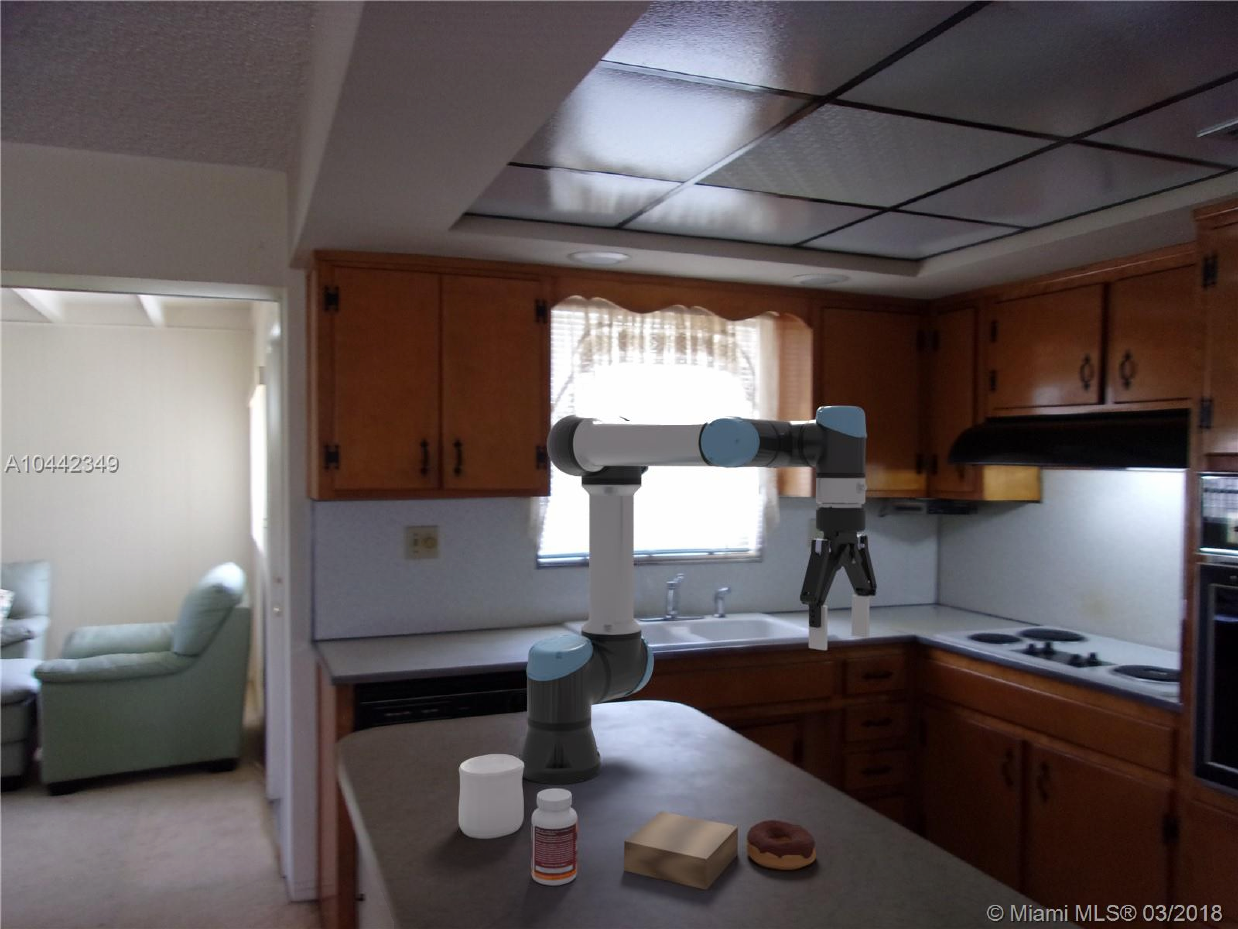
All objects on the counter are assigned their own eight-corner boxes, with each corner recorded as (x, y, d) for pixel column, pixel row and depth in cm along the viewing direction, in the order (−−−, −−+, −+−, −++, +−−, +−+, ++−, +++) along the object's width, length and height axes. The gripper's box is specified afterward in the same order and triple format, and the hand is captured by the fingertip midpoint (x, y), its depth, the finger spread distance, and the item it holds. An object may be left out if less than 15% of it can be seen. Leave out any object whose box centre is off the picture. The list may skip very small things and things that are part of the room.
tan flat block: (624, 870, 123) (624, 841, 123) (660, 838, 134) (660, 811, 134) (706, 890, 117) (706, 859, 117) (737, 854, 128) (737, 826, 128)
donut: (801, 881, 121) (801, 851, 121) (734, 863, 126) (734, 834, 126) (826, 853, 129) (826, 825, 129) (762, 838, 134) (762, 811, 134)
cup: (533, 819, 141) (533, 757, 141) (504, 844, 131) (505, 777, 131) (479, 811, 144) (479, 750, 144) (447, 835, 134) (447, 770, 134)
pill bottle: (586, 879, 120) (586, 797, 120) (545, 891, 117) (545, 806, 117) (562, 862, 125) (563, 783, 125) (522, 873, 122) (523, 791, 122)
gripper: (822, 509, 129) (821, 658, 129) (898, 504, 147) (897, 634, 147) (776, 507, 134) (776, 650, 134) (856, 502, 152) (855, 628, 152)
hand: (839, 642), depth 140 cm, fingers open, 13 cm apart
